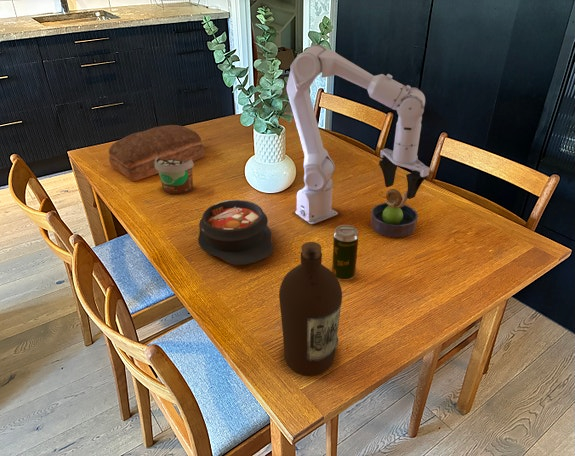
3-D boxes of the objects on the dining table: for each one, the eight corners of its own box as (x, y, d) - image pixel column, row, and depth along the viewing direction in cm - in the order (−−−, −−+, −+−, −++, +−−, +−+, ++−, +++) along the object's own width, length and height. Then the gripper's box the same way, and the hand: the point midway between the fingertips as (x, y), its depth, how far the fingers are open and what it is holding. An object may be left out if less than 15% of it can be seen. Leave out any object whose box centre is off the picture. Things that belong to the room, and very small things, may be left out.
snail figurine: (399, 233, 119) (405, 192, 112) (377, 225, 122) (382, 185, 116) (408, 224, 122) (414, 184, 116) (386, 216, 126) (391, 177, 119)
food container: (151, 194, 140) (145, 164, 134) (161, 185, 145) (155, 155, 139) (189, 198, 137) (184, 168, 132) (197, 189, 142) (193, 159, 137)
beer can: (352, 266, 108) (355, 223, 102) (357, 280, 104) (361, 237, 97) (329, 267, 108) (331, 225, 101) (334, 282, 103) (336, 238, 97)
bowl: (392, 244, 116) (394, 231, 113) (360, 223, 124) (361, 210, 122) (425, 229, 121) (427, 216, 119) (392, 210, 130) (394, 198, 127)
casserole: (184, 229, 123) (179, 202, 118) (246, 211, 130) (245, 184, 126) (221, 281, 104) (217, 251, 100) (291, 255, 112) (291, 227, 108)
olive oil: (270, 351, 87) (264, 242, 73) (314, 327, 92) (316, 221, 78) (303, 389, 79) (304, 276, 66) (349, 361, 84) (359, 251, 71)
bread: (108, 168, 156) (100, 136, 149) (182, 144, 172) (178, 114, 166) (132, 184, 145) (124, 151, 139) (208, 157, 162) (205, 126, 156)
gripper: (441, 147, 107) (432, 198, 114) (396, 129, 117) (390, 177, 124) (420, 154, 103) (412, 206, 111) (376, 135, 114) (371, 184, 121)
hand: (399, 191), depth 117 cm, fingers open, 7 cm apart
